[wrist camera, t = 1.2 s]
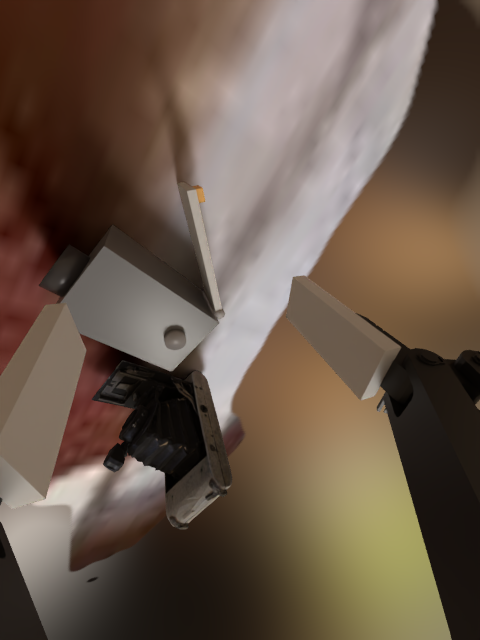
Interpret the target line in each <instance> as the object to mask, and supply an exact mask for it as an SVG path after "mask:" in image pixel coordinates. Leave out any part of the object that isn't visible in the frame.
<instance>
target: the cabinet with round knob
mask: <svg viewBox="0 0 480 640" xmlns="http://www.w3.org/2000/svg"><path fill="white" fill-rule="evenodd" d="M39 286H40V287H42V288H44V289H46V290H49V291H51V292H53V293H55V294H57V295H59V296H60V298H59V300H58V302H57V303H56V304H60V303H66V304H67V306H68V309H69V311H70V313H71V316H72V318H73V320H74V323H75V325H76V327H77V330H78V332H79V333H80V334H82V335H85V336H87V337H90V338H92V339H94V340H97V341H99V342H101V343H104V344H106V345H109V346H111V347H113V348H116V349H118V350H121V351H123V352H125V353H128V354H130V355H132V356H135V357H137V358H140V359H142V360H144V361H147V362H149V363H151V364H154V365H156V366H159V367H161V368H163V369H166V370H168V371H170V372H172V371H173V370H174V369H175V368H176V367H177V366H178V365H179V364H180V363H181V362H182V361H183V360H184V359H185V358H186V356H187V355H188V354H189V353H190V352H191V351H192V350H193V349H194V348H195V347H196V346H197V345H198V344H199V343H200V342H201V341H202V340H203V339H204V338H205V337H206V336H207V335H208V334H209V333H210V332H211V331H212V330H213V329H214V328H215V327H216V326H217V325H218V324H219V322H218V319H217V318H216V317H215V315H214V313H213V310H212V308H211V306H210V304H209V302H208V300H207V297H206V295H205V293H204V292H203V291H202V290H201V289H199V288H198V287H197V286H195V285H194V284H192V283H191V282H190V281H188V280H187V279H186V278H184V277H183V276H182V275H180V274H179V273H178V272H176V271H175V270H174V269H172V268H171V267H170V266H168V265H167V264H165V263H164V262H163V261H161V260H160V259H159V258H157V257H156V256H155V255H153V254H152V253H151V252H149V251H148V250H147V249H145V248H144V247H143V246H141V245H140V244H138V243H137V242H136V241H134V240H133V239H132V238H130V237H129V236H128V235H126V234H125V233H124V232H122V231H121V230H120V229H118V228H117V227H115V226H114V225H113V224H112V226H111V227H110V228H109V230H108V231H107V232H106V234H105V235H104V236H103V238H102V239H101V240H100V242H99V243H98V244H97V245H96V247H95V248H94V249H93V251H92V252H91V253H90V255H89V256H88V255H86V254H84V253H83V252H81V251H79V250H78V249H76V248H75V247H73V246H71V245H70V244H69V245H68V247H67V248H66V249H65V250H64V252H63V253H62V254H61V256H60V257H59V258H58V260H57V261H56V262H55V264H54V265H53V267H52V268H51V269H50V271H49V272H48V273H47V275H46V276H45V277H44V279H43V280H42V282H41V283H40V284H39Z"/></svg>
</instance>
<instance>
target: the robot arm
mask: <svg viewBox="0 0 480 640" xmlns="http://www.w3.org/2000/svg"><path fill="white" fill-rule="evenodd" d="M286 318H288V320H289V321H290V322H291V323H292V324H293V325H294V326H295V328H296V329H297V330H298V331H299V332H300V333H301V334H302V335H303V337H305V339H306V340H307V341H308V342H309V343H310V344H311V346H312V347H313V348H314V349H315V350H316V351H317V352H318V353H319V354H320V355H321V357H322V358H323V359H324V360H325V361H326V362H327V363H328V365H329V366H330V367H331V368H332V369H333V370H334V371H335V372H336V374H337V375H338V376H339V377H340V378H341V379H342V380H343V381H344V382H345V383H346V385H347V386H348V387H349V388H350V389H351V390H352V391H353V392H354V394H355V395H356V396H357V397H358V398H359V399H360V400H363V399H367V398H370V397H373V396H375V394H376V393H377V391H378V389H379V387H380V386H381V387H382V388H383V389H384V390H385V391H386V392H385V394H384V396H383V397H382V399H381V401H380V403H379V404H378V406H377V411H380V410H381V409H382V407H383V405H385V407H386V408H385V410H384V413H387V414H388V417H389V420H390V424H391V427H392V431H393V435H394V438H395V442H396V445H397V448H398V452H399V455H400V459H401V462H402V466H403V469H404V473H405V476H406V480H407V483H408V487H409V490H410V494H411V497H412V501H413V504H414V508H415V511H416V515H417V518H418V522H419V525H420V529H421V532H422V536H423V539H424V543H425V546H426V550H427V553H428V557H429V560H430V563H431V567H432V571H433V574H434V578H435V581H436V585H437V588H438V592H439V595H440V599H441V602H442V606H443V609H444V613H445V616H446V620H447V623H448V627H449V630H450V634H451V638H452V640H480V410H479V409H477V407H476V406H475V404H476V403H477V402H478V401H479V400H480V352H479V351H472V350H465V351H463V352H462V353H461V354H460V356H459V357H458V359H457V360H449V359H443V358H442V357H440V356H439V355H437V354H435V353H433V352H431V351H428V350H425V349H418V348H415V349H409V348H407V347H406V346H405V345H404V344H402V343H401V342H400V341H398V340H397V339H395V338H394V337H393V336H391V335H390V334H388V333H387V332H386V331H383V329H382V328H380V327H379V326H376V324H375V323H373V322H372V321H370V320H369V319H368V318H366V317H364V316H361V315H359V314H357V313H354V312H353V311H352V310H350V309H349V308H348V307H346V306H345V305H344V304H342V303H341V302H339V301H338V300H337V299H335V298H334V297H333V296H331V295H330V294H329V293H327V292H326V291H325V290H323V289H322V288H320V287H319V286H318V285H317V284H315V283H314V282H312V281H311V280H310V279H309V278H307V277H306V276H297V277H293V280H292V286H291V291H290V297H289V303H288V309H287V314H286ZM85 354H86V348H85V346H84V344H83V341H82V339H81V337H80V334H79V332H78V330H77V327H76V325H75V323H74V320H73V318H72V316H71V313H70V311H69V309H68V306H67V304H66V303H60V304H51V305H45V306H44V308H43V310H42V311H41V313H40V314H39V316H38V318H37V319H36V321H35V322H34V324H33V325H32V327H31V329H30V330H29V332H28V333H27V335H26V337H25V338H24V340H23V341H22V343H21V345H20V346H19V348H18V349H17V351H16V352H15V354H14V356H13V357H12V359H11V360H10V362H9V364H8V365H7V367H6V368H5V370H4V372H3V373H2V375H1V376H0V505H1V502H2V501H3V502H4V503H5V504H7V505H8V506H9V507H11V508H12V509H15V508H18V507H21V506H24V505H28V504H31V503H34V502H37V501H41V500H44V499H46V495H47V492H48V488H49V484H50V481H51V477H52V473H53V470H54V466H55V463H56V459H57V455H58V452H59V448H60V444H61V441H62V437H63V434H64V430H65V426H66V423H67V419H68V415H69V412H70V408H71V404H72V401H73V397H74V394H75V390H76V386H77V383H78V379H79V375H80V372H81V368H82V365H83V361H84V357H85ZM0 640H48V639H47V636H46V634H45V631H44V629H43V626H42V624H41V621H40V619H39V616H38V613H37V611H36V608H35V606H34V603H33V601H32V598H31V596H30V593H29V591H28V588H27V586H26V583H25V581H24V578H23V576H22V574H21V571H20V568H19V566H18V563H17V561H16V558H15V556H14V553H13V551H12V548H11V546H10V543H9V541H8V538H7V535H6V533H5V530H4V528H3V526H2V523H1V522H0Z"/></svg>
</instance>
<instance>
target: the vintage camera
mask: <svg viewBox="0 0 480 640" xmlns="http://www.w3.org/2000/svg"><path fill="white" fill-rule="evenodd" d="M92 400H94V401H99V402H105V403H110V404H115V405H120V406H124V407H128V408H133V409H135V410H134V411H133V412H132V413H131V414H130V416H129V417H128V419H127V420H126V422H125V424H124V425H123V426H122V431H121V432H120V435H119V438H120V439H121V440H123V441H124V442H123V443H122V444H121V445H120V444H118V443H117V444H116V445H115V446H114V447H113V448H112V449H111V450H110V451H109V453H108V455H107V457H106V458H105V460H104V463H103V465H104V466H105V467H106V468H108V469H109V470H111V471H113V472H116V471H118V470H119V469H120V468H121V467H122V465H123V464H124V461H125V457H126V456H127V453H128V456H129V455H131V457H135V458H136V460H137V461H139V462H143V464H144V466H151V467H154V468H156V470H160V471H162V472H164V473H165V498H166V513H167V517H168V519H169V521H170V522H171V524H172V526H174V527H176V528H178V529H187V528H188V523H189V522H190V521H191V520H192V519H193V518H194V517H196V516H197V515H198V514H199V513H200V512H201V511H202V510H204V509H205V508H206V507H207V506H208V505H210V504H211V503H212V502H213V501H214V500H215V499H216V498H217V497H218V496H222V497H224V496H226V495H227V491H226V489H228V488H229V487H230V486H231V483H232V475H231V470H230V465H229V462H228V458H227V454H226V450H225V446H224V442H223V438H222V434H221V430H220V426H219V422H218V419H217V415H216V411H215V407H214V404H213V400H212V396H211V392H210V388H209V385H208V381H207V379H206V378H205V376H204V375H203V374H202V373H201V372H199V371H193V372H192V373H191V374H190V375H189V376H188V377H187V378H186V379H185V380H182V379H179V378H175V377H173V376H171V375H168V374H165V373H162V372H159V371H156V370H153V369H149V368H146V367H143V366H140V365H137V364H134V363H130V362H127V361H124V360H122V361H121V362H120V364H119V365H118V366H117V367H116V369H115V370H114V372H113V373H112V374H111V375H110V377H109V378H108V379H107V380H106V382H105V383H104V384H103V385H102V387H101V388H100V389H99V391H98V392H97V393H96V394H95V396H94V397H93V398H92ZM156 470H155V471H156Z"/></svg>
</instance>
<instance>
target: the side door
mask: <svg viewBox="0 0 480 640" xmlns="http://www.w3.org/2000/svg"><path fill="white" fill-rule="evenodd" d="M177 185H178V189H179V193H180V196H181V200H182V204H183V208H184V212H185V216H186V220H187V224H188V228H189V232H190V235H191V239H192V243H193V247H194V251H195V255H196V259H197V263H198V267H199V271H200V274H201V278H202V282H203V291H204V293H205V295H206V297H207V300H208V302H209V304H210V306H211V308H212V310H213V313H214V315H215V317H216V318H218V319H221V318H223V317H224V315H225V312H224V311H223V309H222V307H221V302H220V298H219V293H218V288H217V284H216V279H215V275H214V270H213V265H212V261H211V256H210V252H209V247H208V242H207V238H206V233H205V229H204V224H203V219H202V215H201V210H200V205H199V203H201V202H205V198H204V193H203V188H202V187H200V186H198V185H197V186H190V185H188V184H187V183H185V182H181V183H177Z"/></svg>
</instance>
